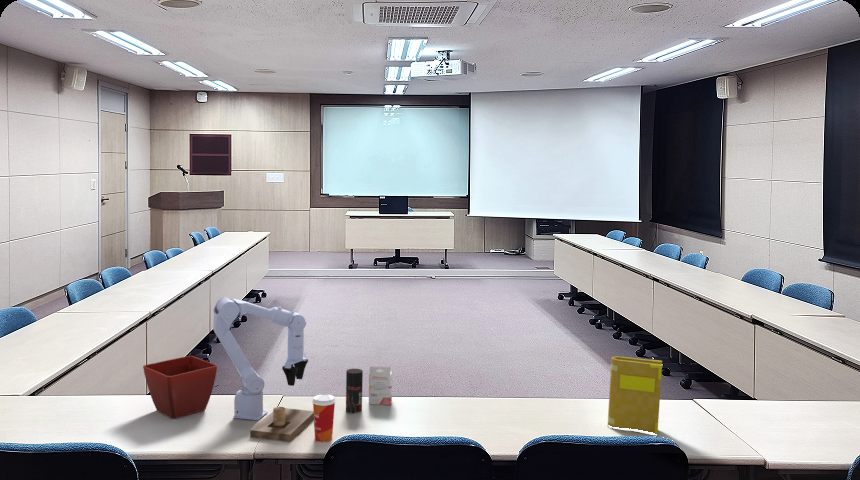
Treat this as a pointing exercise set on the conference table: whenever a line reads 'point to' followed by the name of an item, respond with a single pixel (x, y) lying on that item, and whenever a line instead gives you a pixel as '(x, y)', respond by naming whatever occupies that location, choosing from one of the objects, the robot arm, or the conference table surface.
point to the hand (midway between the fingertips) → (295, 382)
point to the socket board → (293, 425)
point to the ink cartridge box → (380, 386)
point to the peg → (279, 417)
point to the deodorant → (354, 390)
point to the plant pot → (180, 385)
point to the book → (634, 393)
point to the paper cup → (323, 417)
